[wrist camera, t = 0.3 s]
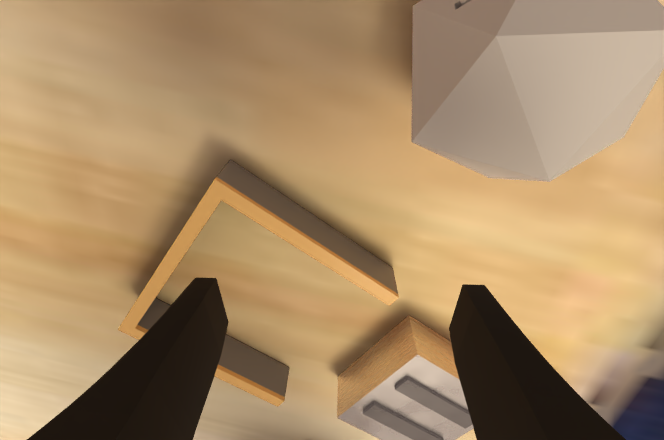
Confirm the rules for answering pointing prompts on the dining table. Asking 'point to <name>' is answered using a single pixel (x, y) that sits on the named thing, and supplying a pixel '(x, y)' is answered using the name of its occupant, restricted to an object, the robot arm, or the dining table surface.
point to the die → (530, 80)
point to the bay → (292, 226)
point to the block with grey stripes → (405, 387)
